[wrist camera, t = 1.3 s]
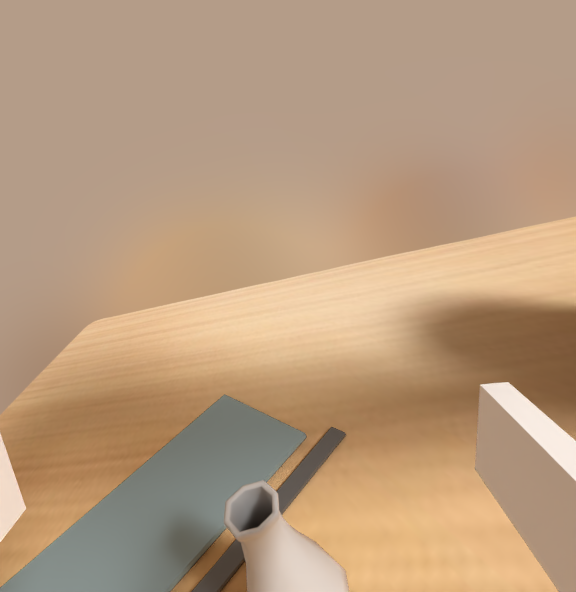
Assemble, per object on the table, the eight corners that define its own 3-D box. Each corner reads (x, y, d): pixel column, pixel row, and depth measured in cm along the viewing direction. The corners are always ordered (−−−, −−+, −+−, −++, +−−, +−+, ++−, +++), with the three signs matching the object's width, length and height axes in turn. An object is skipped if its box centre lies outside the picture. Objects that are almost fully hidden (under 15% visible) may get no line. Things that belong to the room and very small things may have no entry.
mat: (226, 397, 47) (224, 394, 47) (306, 437, 38) (305, 433, 38) (-11, 603, 32) (-14, 599, 32) (29, 750, 23) (24, 747, 23)
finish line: (332, 428, 38) (331, 426, 38) (345, 434, 37) (345, 432, 37) (-2, 824, 20) (-5, 822, 20) (4, 858, 19) (1, 857, 19)
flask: (266, 706, 22) (199, 612, 17) (234, 582, 28) (179, 490, 24) (376, 629, 23) (339, 526, 19) (322, 527, 30) (285, 433, 25)
